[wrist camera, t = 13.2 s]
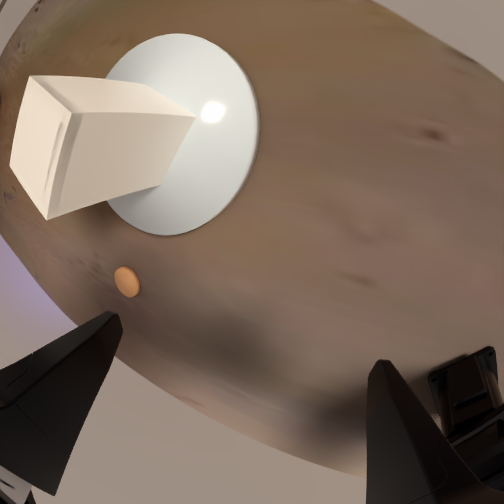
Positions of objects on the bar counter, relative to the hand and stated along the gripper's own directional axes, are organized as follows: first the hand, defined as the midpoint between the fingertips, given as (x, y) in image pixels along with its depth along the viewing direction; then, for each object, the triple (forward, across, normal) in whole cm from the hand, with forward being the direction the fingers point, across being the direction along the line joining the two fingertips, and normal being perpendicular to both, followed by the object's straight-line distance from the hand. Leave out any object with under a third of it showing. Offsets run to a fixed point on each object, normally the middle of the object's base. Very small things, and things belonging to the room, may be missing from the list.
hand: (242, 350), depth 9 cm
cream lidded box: (+14, +10, -4) cm, 17 cm away
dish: (+15, +10, -4) cm, 18 cm away
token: (+14, +14, +10) cm, 22 cm away
